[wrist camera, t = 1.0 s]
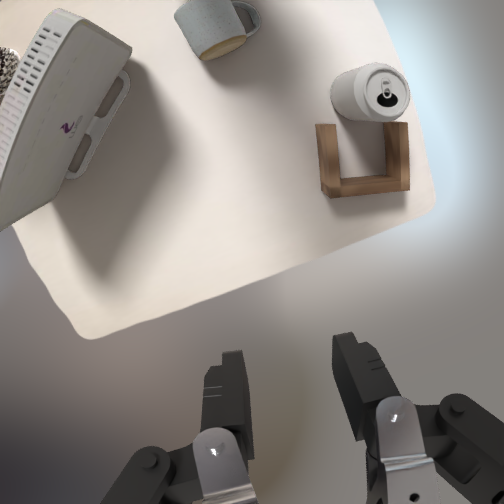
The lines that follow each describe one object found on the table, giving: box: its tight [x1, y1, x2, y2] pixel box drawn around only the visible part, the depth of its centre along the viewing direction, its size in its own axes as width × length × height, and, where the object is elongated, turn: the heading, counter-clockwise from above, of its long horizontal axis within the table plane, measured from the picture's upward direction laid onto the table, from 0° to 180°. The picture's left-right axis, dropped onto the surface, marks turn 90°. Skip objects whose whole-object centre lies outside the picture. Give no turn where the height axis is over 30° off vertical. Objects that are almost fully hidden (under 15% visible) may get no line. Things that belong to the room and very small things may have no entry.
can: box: [331, 63, 410, 122], centre depth 36 cm, size 8×8×12 cm
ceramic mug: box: [174, 0, 261, 61], centre depth 34 cm, size 11×8×8 cm
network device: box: [0, 8, 132, 232], centre depth 31 cm, size 26×9×20 cm, turn 145°
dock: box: [315, 121, 410, 198], centre depth 43 cm, size 10×12×5 cm
